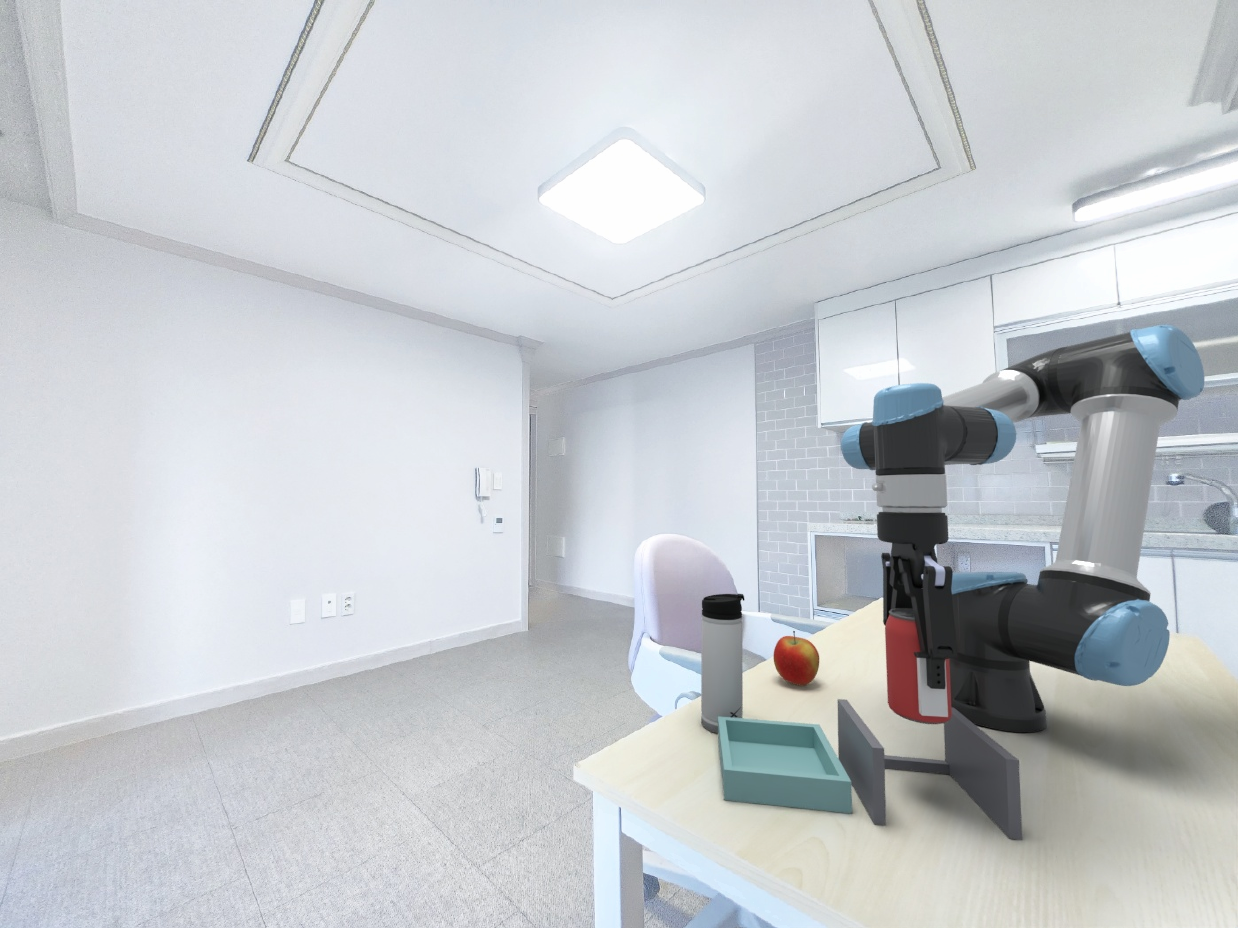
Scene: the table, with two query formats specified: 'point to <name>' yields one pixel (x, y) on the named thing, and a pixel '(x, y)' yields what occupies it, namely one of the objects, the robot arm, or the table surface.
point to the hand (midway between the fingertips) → (918, 700)
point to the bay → (935, 767)
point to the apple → (796, 660)
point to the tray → (781, 765)
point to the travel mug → (721, 659)
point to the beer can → (907, 668)
